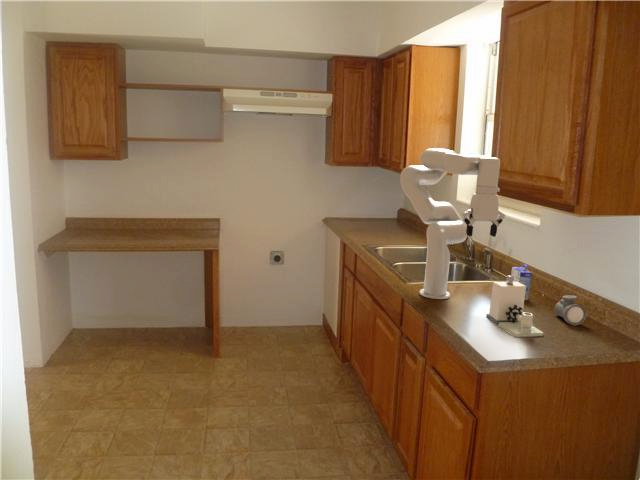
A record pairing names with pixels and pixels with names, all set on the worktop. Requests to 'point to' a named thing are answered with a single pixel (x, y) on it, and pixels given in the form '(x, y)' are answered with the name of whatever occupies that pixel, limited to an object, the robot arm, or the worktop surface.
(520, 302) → the pump housing
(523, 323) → the valve
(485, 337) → the worktop surface
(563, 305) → the pipe fitting
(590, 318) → the worktop surface
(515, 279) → the ink cartridge box
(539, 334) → the pad
